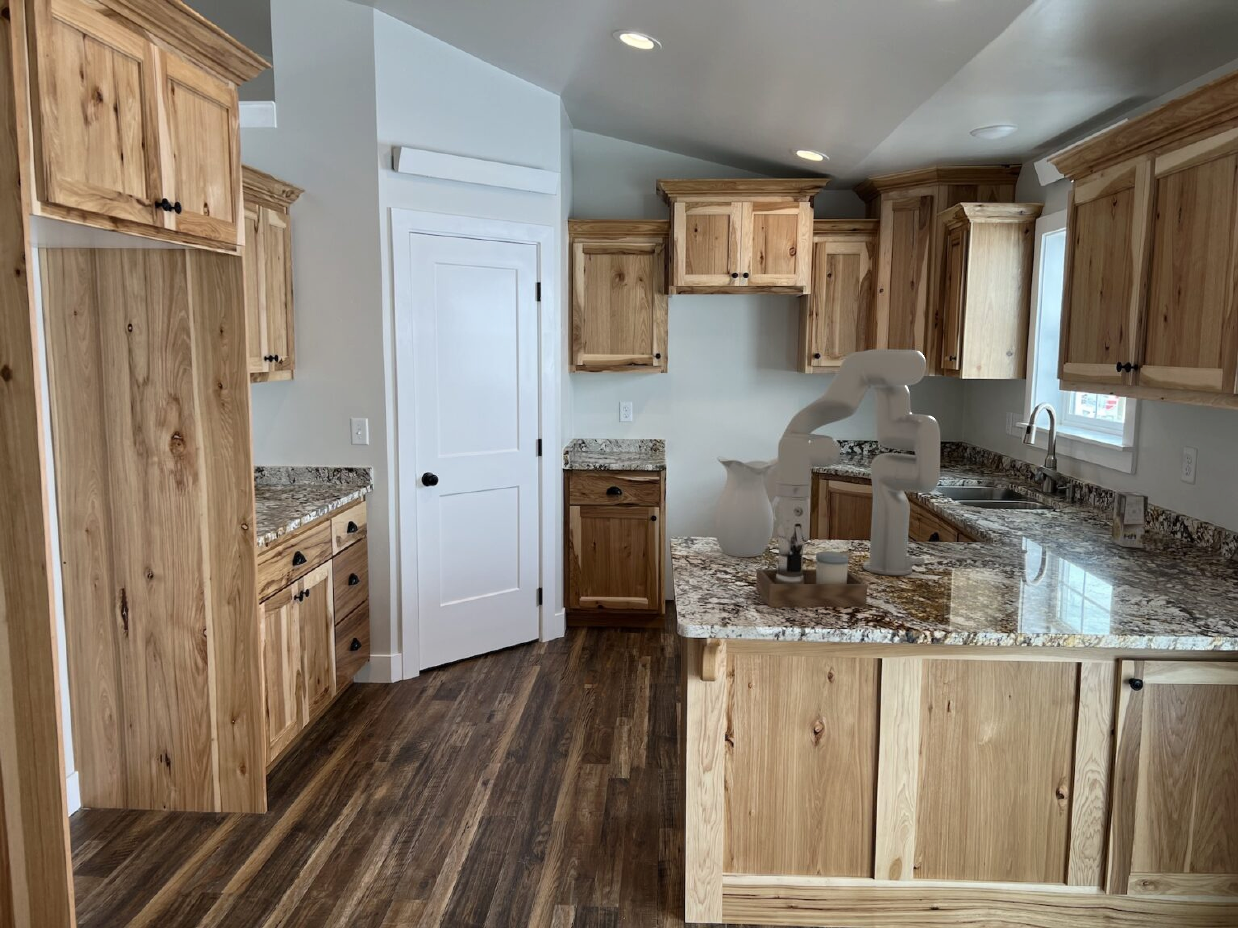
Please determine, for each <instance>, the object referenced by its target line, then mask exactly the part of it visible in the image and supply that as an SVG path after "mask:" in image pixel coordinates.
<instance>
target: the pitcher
mask: <svg viewBox="0 0 1238 928" xmlns="http://www.w3.org/2000/svg"><path fill="white" fill-rule="evenodd" d="M717 460H718V463H720V464H721V465H722V466H723V467H724V468H725V470H726V473H727V474H726V475H727V478H726V481H725V484H724V487H723V490H722V492H721V495H720V496H719V499H718V502H717V504H716V508H715V511H714V516H713V517H714V519H713V530H714V535H715V538H716V542H717V544H718V546H719V547H720V549H721V551H722V553H724V554H725V555H728V556H730V557H735V558H736V557H737V558H754V557H760V556H761V555H762V554H763V553H764V552H765V551H766V549H767V548H768V546H769V544H770V542H771V539H772V537H773V532H774V523H776V522H778V519H777V518H776V514H775V511H776V508H777V506H779V501H780V498H778V497H776V496H775V497H774V499H773V500H772V502H771V501H770V499H769V496H768V492H767V490H766V487H765V483H764V478H767V477H768V473H769V471H770V470H771V469H772V468H773V467H775V466H778V457H777V458H774V459H772V460H770V461H764V460H751V461H747V462H743V461H740V460H736V459H728V458H726V457H724V456H718V457H717Z"/></svg>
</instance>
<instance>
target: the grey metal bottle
mask: <svg viewBox="0 0 1238 928" xmlns="http://www.w3.org/2000/svg"><path fill="white" fill-rule="evenodd" d="M797 512H798V511H797ZM802 538H803V536H802ZM791 539H792V540H791V541H796V539H795V538H791ZM802 540H803V539H802ZM777 542H778V543H777V544H778V561H777V563H778V565H777V569H778V570H777V574H776V579H775V584H804V578H803V569H804V568H803V559H804V558H803V555H804V549H805V548H804V547H805V543H806V542H804V541H803V546H802V558H801V571H800V572H788V571H787V554H789V548H788V541H786V540H785V533H784V529H783V526H782V525H780V526H779V528H778V527H777ZM793 545H795V544H792V548H793Z"/></svg>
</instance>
